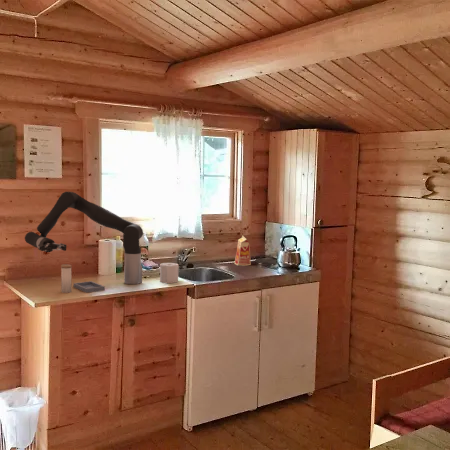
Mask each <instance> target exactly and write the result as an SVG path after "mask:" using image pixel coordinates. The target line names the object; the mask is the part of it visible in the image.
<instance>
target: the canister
mask: <svg viewBox="0 0 450 450" xmlns="http://www.w3.org/2000/svg"><path fill="white" fill-rule="evenodd" d="M60 268H61V269H60V271H61V272H60V273H61V276H60V277H61V278H60V280H61V281H60V282H61V285H60V286H61V288H60V289H61V293H62V294H67V293H72V264H68V263H65V264H64V263H63V264H61V265H60Z"/></svg>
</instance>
